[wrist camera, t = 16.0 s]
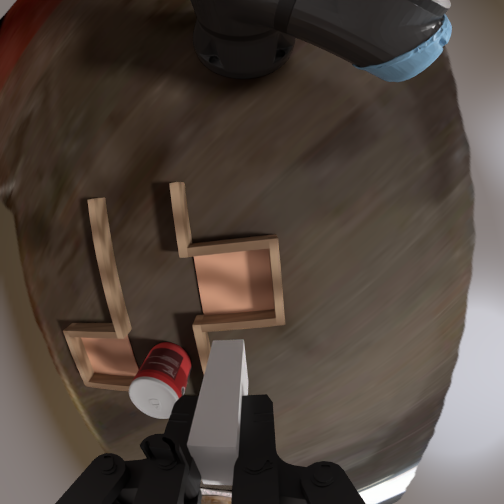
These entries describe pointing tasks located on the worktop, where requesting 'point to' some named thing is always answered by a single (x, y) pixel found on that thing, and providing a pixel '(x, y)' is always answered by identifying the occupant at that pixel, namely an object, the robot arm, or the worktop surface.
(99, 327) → the channel
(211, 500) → the cookie jar
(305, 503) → the robot arm
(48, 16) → the worktop surface
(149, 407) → the canned food
